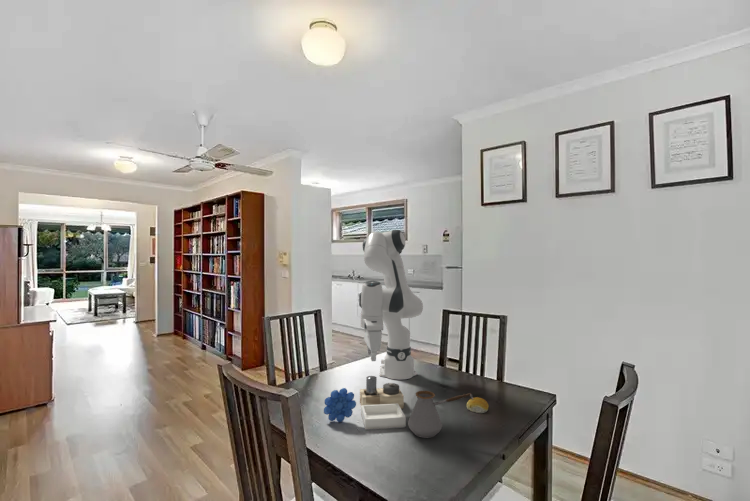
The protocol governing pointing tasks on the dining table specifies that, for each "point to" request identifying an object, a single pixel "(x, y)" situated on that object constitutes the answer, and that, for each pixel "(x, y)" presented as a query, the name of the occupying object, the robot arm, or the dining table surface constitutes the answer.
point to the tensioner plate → (383, 396)
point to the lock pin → (371, 385)
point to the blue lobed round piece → (339, 405)
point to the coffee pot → (427, 414)
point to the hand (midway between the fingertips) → (371, 357)
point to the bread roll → (477, 405)
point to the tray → (382, 416)
